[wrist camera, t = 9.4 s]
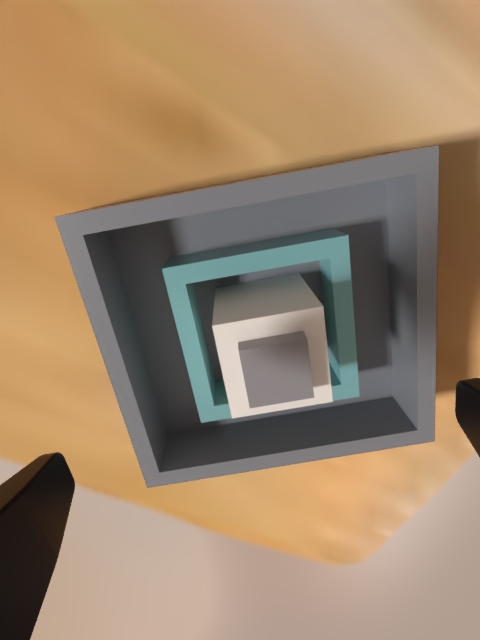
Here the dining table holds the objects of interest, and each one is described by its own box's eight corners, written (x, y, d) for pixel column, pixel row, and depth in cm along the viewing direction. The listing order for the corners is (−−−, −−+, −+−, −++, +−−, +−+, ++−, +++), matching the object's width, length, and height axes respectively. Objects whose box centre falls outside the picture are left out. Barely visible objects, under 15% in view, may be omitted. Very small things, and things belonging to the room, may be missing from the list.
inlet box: (397, 151, 17) (439, 145, 13) (402, 400, 21) (434, 441, 18) (87, 209, 17) (54, 217, 14) (159, 440, 22) (147, 487, 18)
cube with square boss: (298, 273, 18) (328, 312, 13) (307, 349, 19) (337, 412, 14) (215, 288, 18) (211, 333, 13) (230, 362, 19) (232, 429, 14)
